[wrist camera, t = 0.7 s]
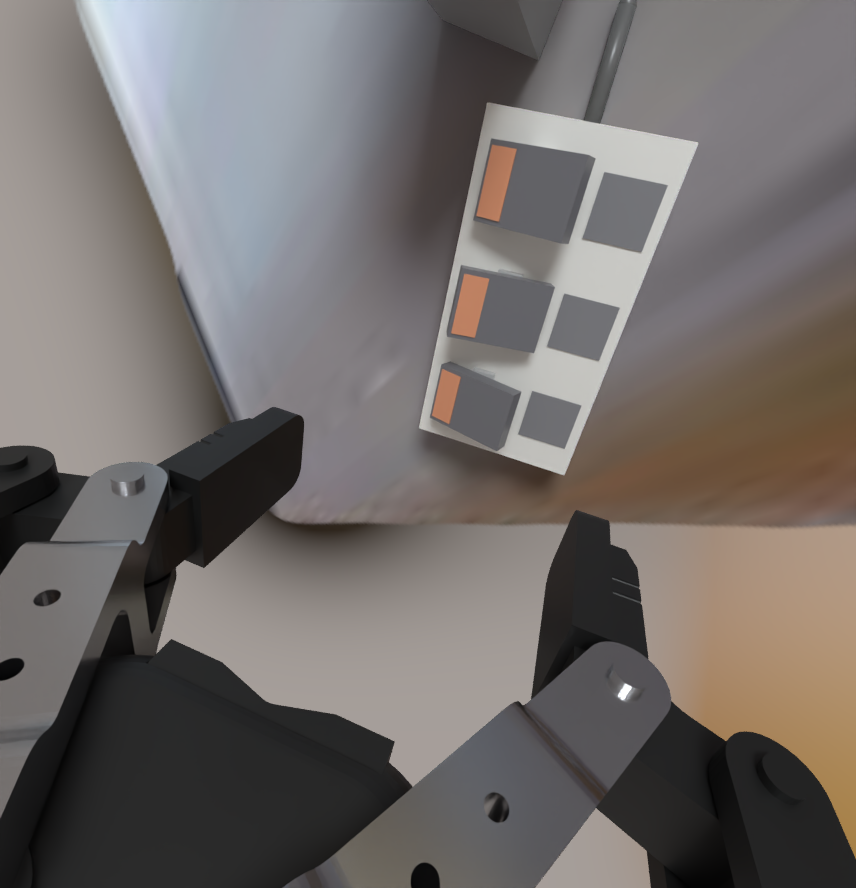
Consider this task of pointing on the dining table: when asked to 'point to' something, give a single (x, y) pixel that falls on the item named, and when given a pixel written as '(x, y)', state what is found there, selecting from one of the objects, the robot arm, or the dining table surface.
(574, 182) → the plate
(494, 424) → the rocker
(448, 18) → the perfume bottle
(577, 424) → the power strip
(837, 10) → the dining table surface
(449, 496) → the dining table surface
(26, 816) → the robot arm
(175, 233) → the dining table surface
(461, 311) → the block
